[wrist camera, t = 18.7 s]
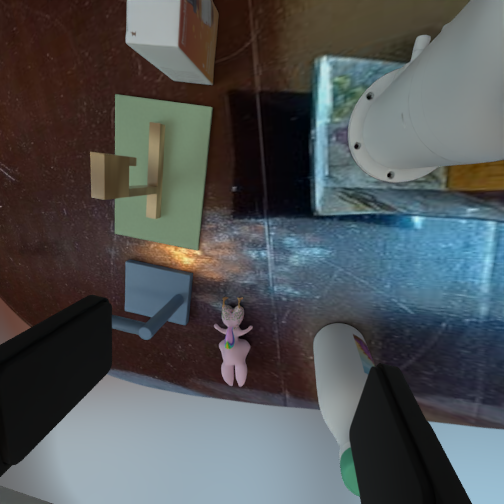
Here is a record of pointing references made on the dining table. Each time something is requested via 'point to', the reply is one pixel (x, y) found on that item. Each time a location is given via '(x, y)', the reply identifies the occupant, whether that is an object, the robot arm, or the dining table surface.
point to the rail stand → (154, 297)
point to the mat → (164, 168)
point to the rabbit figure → (233, 344)
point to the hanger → (117, 174)
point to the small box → (175, 36)
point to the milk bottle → (341, 386)
